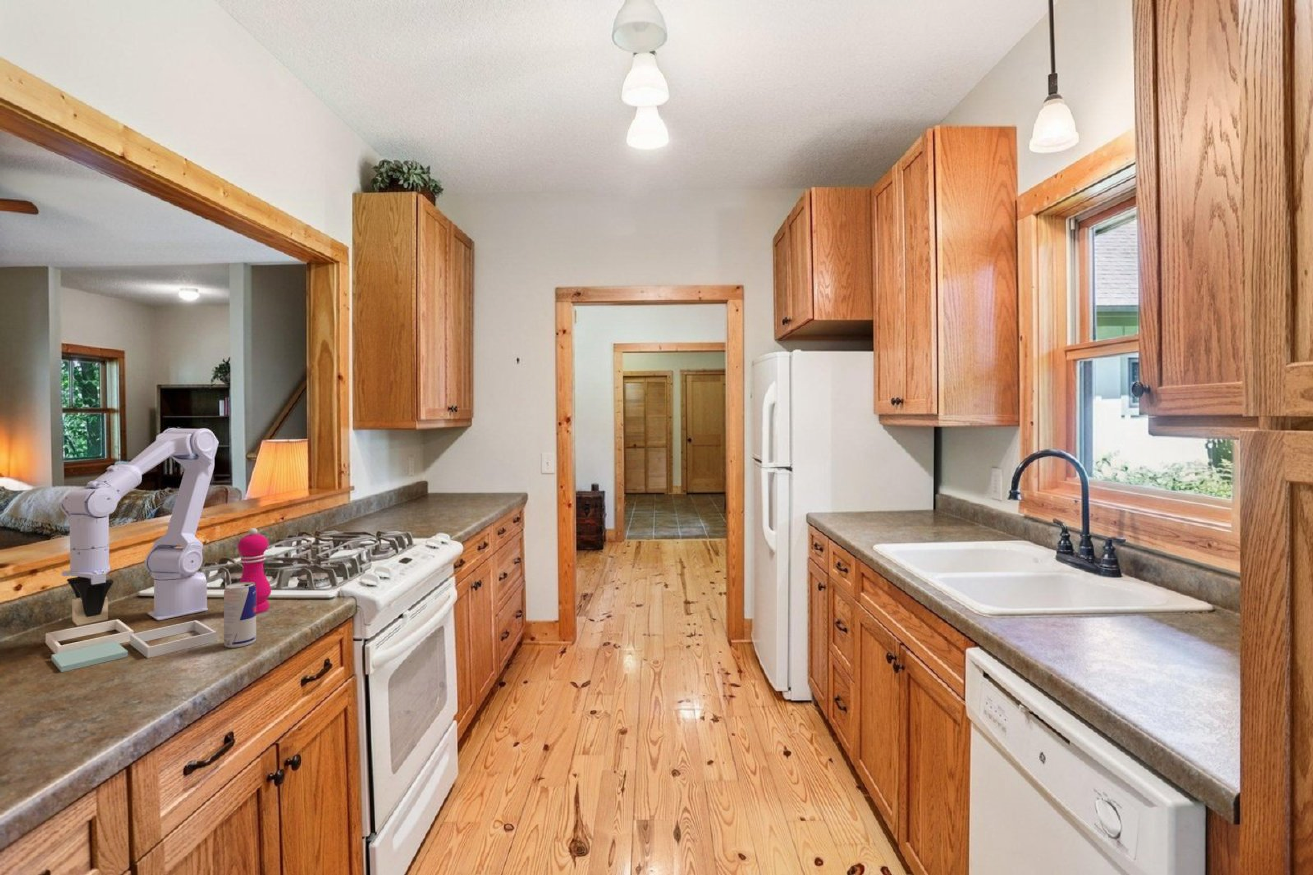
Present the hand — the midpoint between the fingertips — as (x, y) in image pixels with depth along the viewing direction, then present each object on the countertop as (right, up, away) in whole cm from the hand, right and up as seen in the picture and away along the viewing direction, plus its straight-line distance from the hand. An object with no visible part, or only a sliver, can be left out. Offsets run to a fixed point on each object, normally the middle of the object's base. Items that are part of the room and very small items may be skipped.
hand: (90, 613), depth 118 cm
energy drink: (+31, -6, 0) cm, 31 cm away
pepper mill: (+19, -6, +21) cm, 29 cm away
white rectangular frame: (+17, -6, 0) cm, 18 cm away
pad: (+8, -6, -8) cm, 13 cm away
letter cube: (0, -2, 0) cm, 2 cm away
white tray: (0, -6, 0) cm, 6 cm away
